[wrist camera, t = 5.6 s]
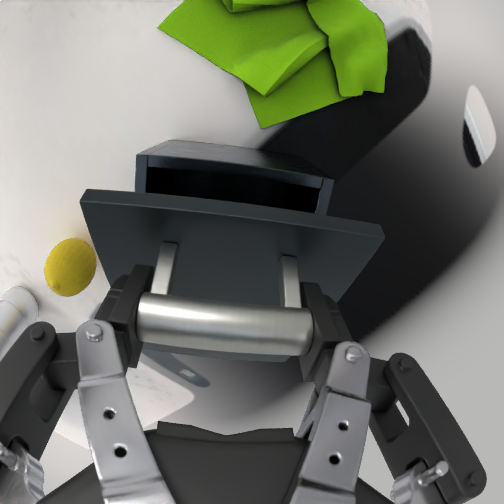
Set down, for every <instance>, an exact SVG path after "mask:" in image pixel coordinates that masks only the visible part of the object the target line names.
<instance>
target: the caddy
mask: <svg viewBox="0 0 504 504" xmlns="http://www.w3.org/2000/svg"><path fill="white" fill-rule="evenodd" d="M333 185H334V179H333V178H331V177H330V176H328V175H327V174H325V173H324V172H323V171H321V170H320V169H318V168H317V167H315V166H314V165H312V164H311V163H309V162H308V161H306V160H305V159H303V158H302V157H299V156H294V155H288V154H283V153H277V152H271V151H265V150H258V149H252V148H245V147H237V146H229V145H221V144H212V143H202V142H192V141H180V140H168V141H166V142H164V143H161V144H159V145H157V146H154V147H152V148H150V149H147V150H145V151H143V152H141V153H138V154H137V155H136V172H135V192H140V193H152V194H163V195H174V196H184V197H193V198H203V199H212V200H220V201H229V202H237V203H245V204H252V205H260V206H267V207H274V208H281V209H288V210H295V211H301V212H308V213H314V214H320V215H326V213H327V209H328V205H329V201H330V197H331V193H332V189H333Z"/></svg>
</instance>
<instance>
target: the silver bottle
mask: <svg viewBox="0 0 504 504" xmlns="http://www.w3.org/2000/svg"><path fill="white" fill-rule="evenodd" d="M37 317H38V305H37V302H36V300H35V298H34V297H33V295H32V294H31V293H30V292H29V291H28V290H27V289H25V288H23V287H12V288H11V289H10V290H8V291H7V292H6V293H5V294H4V296H3V297H2V299H1V301H0V361H1V360H2V358H3V357H4V356H5V354H6V353H7V352H8V350H9V349H10V348H11V346H12V345H13V344H14V343H15V341H16V340H17V339H18V338H19V336H20V335H21V334H22V333H23V331H24V330H25V329H26V328H27V327H28V326H29V325H31V324H33V323H35V321H36V319H37Z"/></svg>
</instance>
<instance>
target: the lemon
mask: <svg viewBox="0 0 504 504" xmlns="http://www.w3.org/2000/svg"><path fill="white" fill-rule="evenodd" d="M95 270H96V257H95V253H94V251H93V249H92V248H91V247H90V245H89V244H87V243H86V242H85V241H83V240H80V239H76V238H71V239H67V240H64V241H62V242H60V243H59V244H58V245H57V246H56V247H54V249H53V250H52V251H51V253H50V254H49V256H48V258H47V260H46V263H45V268H44V273H45V279H46V282H47V284H48V286H49V287H50V288H51V289H52V290H53V291H54V292H55V293H56V294H58V295H61V296H65V297H69V296H74V295H76V294H78V293H80V292H81V291H83V290H84V289H85V288H86V287H87V286H88V285H89V284H90V282H91V280H92V278H93V277H94V274H95Z"/></svg>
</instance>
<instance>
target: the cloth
mask: <svg viewBox="0 0 504 504" xmlns="http://www.w3.org/2000/svg"><path fill="white" fill-rule="evenodd" d="M157 28H158V29H160V30H162V31H164V32H165V33H167V34H168V35H170V36H172V37H173V38H175V39H177V40H178V41H180V42H181V43H183V44H185V45H186V46H188V47H189V48H191V49H192V50H194V51H195V52H197V53H199V54H200V55H202V56H203V57H205V58H206V59H208V60H209V61H211V62H212V63H214V64H215V65H217V66H218V67H220V68H222V69H223V70H225V71H227V72H229V73H231V74H234V75H236V76H238V77H239V78H240V79H242V81H243V83H244V85H245V88H246V90H247V93H248V97H249V100H250V102H251V105H252V107H253V110H254V112H255V115H256V117H257V120H258V122H259V124H260V127H261V129H263V128H266V127H269V126H272V125H274V124H277V123H280V122H283V121H286V120H289V119H292V118H294V117H297V116H300V115H302V114H305V113H308V112H311V111H314V110H317V109H320V108H322V107H325V106H327V105H330V104H333V103H336V102H339V101H342V100H344V99H347V98H350V97H351V96H358V95H362V93H363V91H373V92H378V93H383V92H384V84H385V75H386V72H387V52H388V49H387V42H386V36H385V29H384V23H383V22H382V21H381V19H380V18H379V17H378V15H377V14H376V13H374V12H372V11H370V10H368V9H367V8H366V7H365V6H364V5H363V3H362V2H360V1H359V0H185V1H184V2H183V3H182V4H181V5H180V6H179V7H177V8H176V9H175V10H174V11H173V12H172V13H171V14H170V15H169V16H168V17H167V18H166V19H165V20H164V21H163V22H162V23H161V24H160V25H159V26H158V27H157Z"/></svg>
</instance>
